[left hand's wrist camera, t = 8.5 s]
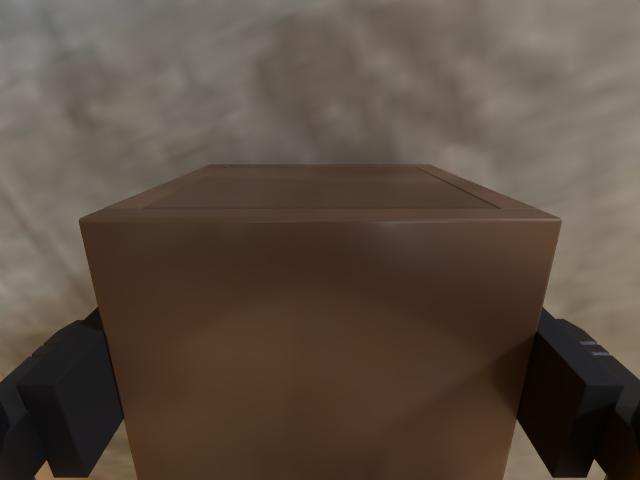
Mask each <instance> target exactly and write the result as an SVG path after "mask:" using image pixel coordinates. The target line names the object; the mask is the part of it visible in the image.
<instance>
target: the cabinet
mask: <svg viewBox="0 0 640 480" xmlns="http://www.w3.org/2000/svg"><path fill="white" fill-rule="evenodd" d="M561 223H562V221H561V219H560V218H558V217H556V216H553V215H551V214H549V213H546V212H544V211H541V210H539V209H536V208H534V207H532V206H529V205H527V204H525V203H522V202H520V201H517V200H515V199H512V198H510V197H507V196H505V195H502V194H500V193H498V192H495V191H493V190H490V189H488V188H485V187H483V186H480V185H478V184H475V183H473V182H470V181H468V180H466V179H463V178H461V177H458V176H456V175H453V174H451V173H448V172H446V171H443V170H441V169H439V168H436V167H434V166H432V165H209V166H206V167H204V168H202V169H199V170H197V171H194V172H192V173H189V174H187V175H184V176H182V177H179V178H177V179H174V180H172V181H169V182H167V183H165V184H162V185H160V186H157V187H155V188H152V189H150V190H147V191H145V192H142V193H140V194H137V195H135V196H132V197H130V198H128V199H125V200H123V201H120V202H118V203H115V204H113V205H110V206H108V207H105V208H104V209H102V210H99V211H97V212H94V213H92V214H89V215H87V216H85V217H82V218H80V219H79V225H80V229H81V233H82V238H83V242H84V247H85V251H86V255H87V260H88V264H89V269H90V273H91V277H92V282H93V286H94V290H95V295H96V299H97V304H98V308H99V312H100V317H101V321H102V326H103V330H104V334H105V339H106V343H107V347H108V352H109V356H110V361H111V365H112V369H113V374H114V378H115V382H116V387H117V391H118V396H119V400H120V404H121V409H122V413H123V418H124V422H125V426H126V431H127V435H128V439H129V444H130V448H131V453H132V457H133V461H134V466H135V470H136V475H137V479H138V480H503V477H504V472H505V468H506V464H507V459H508V455H509V450H510V446H511V442H512V437H513V433H514V429H515V424H516V420H517V416H518V411H519V407H520V402H521V398H522V394H523V389H524V385H525V381H526V376H527V372H528V367H529V363H530V359H531V354H532V350H533V346H534V341H535V337H536V332H537V328H538V324H539V319H540V315H541V311H542V306H543V302H544V298H545V293H546V289H547V284H548V280H549V276H550V271H551V267H552V263H553V258H554V254H555V249H556V245H557V241H558V236H559V232H560V228H561Z"/></svg>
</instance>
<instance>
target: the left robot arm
mask: <svg viewBox="0 0 640 480" xmlns="http://www.w3.org/2000/svg"><path fill="white" fill-rule="evenodd" d="M123 419H124V418H123V413H122V409H121V404H120V400H119V396H118V391H117V387H116V382H115V378H114V374H113V369H112V365H111V361H110V356H109V352H108V347H107V343H106V339H105V334H104V330H103V326H102V321H101V317H100V312H99V308H98V307H97V308H96V309H95V310H94V311H93V312H92V313H91V314H90V315H89V316H88V317H87V318H86V319H85V320H77V321H75V322H73V323H71V324H69V325H68V326H66V327H64V328H62V329H61V330H59V331H57V332H56V333H55V334H54V335H53V336H52V337H51V338H50V339H48V340H47V341H46V342H45V343H44V346H41V347H39V348H38V349H37V350H36V351H35V352H34V353H33V354H32V357H28V358H27V359H26V360H25V361H24V362H23V363H21V364H20V365H19V366H18V367H17V368H16V369H15V370H14V371H12V372H11V373H10V374H9V375H8V376H7V377H6V378H5V379H3V380H2V381H1V382H0V480H36V479H35V475H36V473H37V472H38V471H39V469H40V468H41V467H42V465H43V464H44V463H45V461H46V460H47V461H48V464H49V466H50V468H51V471H52V473H53V476H54V477H55V478H63V477H64V478H88V476H89V474H90V473H91V471H92V470H93V468H94V466H95V465H96V463H97V461H98V460H99V458H100V456H101V455H102V453H103V452H104V450H105V448H106V447H107V445H108V443H109V442H110V440H111V439H112V437H113V435H114V434H115V432H116V430H117V429H118V427H119V425H120V424H121V422H122V421H123ZM517 420H518V422H519V423H520V425H521V426H522V428H523V430H524V431H525V433H526V435H527V436H528V438H529V440H530V441H531V443H532V444H533V446H534V448H535V449H536V451H537V453H538V454H539V456H540V457H541V459H542V461H543V462H544V464H545V466H546V467H547V469H548V471H549V472H550V474H551V475H552V477H553V478H586V477H587V475H588V472H589V470H590V467H591V465H592V463H593V460H594V459H595V460H596V462H597V463H598V464H599V465H600V467H601V468H602V469H603V471H604V472H605V473H606V476H605V479H604V480H640V380H639V379H638V378H637V377H636V376H635V375H633V374H632V373H631V372H630V371H629V370H628V369H627V368H626V367H624V366H623V365H622V364H621V363H620V362H619V361H618V360H616V359H615V358H614V357H613V356H610V355H609V352H607V351H606V350H605V349H604V348H603V347H602V346H601V345H597V342H596V341H595V340H594V339H593V338H592V337H590V336H589V335H588V334H587V333H586V332H585V331H584V330H582V329H581V328H579V327H577V326H575V325H573V324H572V323H570V322H568V321H566V320H564V319H555V318H554V317H553V316H552V315H551V314H550V313H548V312H547V311H546V310H545V309H544V308H543V307H542V311H541V315H540V319H539V324H538V328H537V332H536V337H535V341H534V346H533V350H532V354H531V359H530V363H529V367H528V372H527V376H526V381H525V385H524V389H523V394H522V398H521V402H520V407H519V411H518V416H517Z"/></svg>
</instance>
